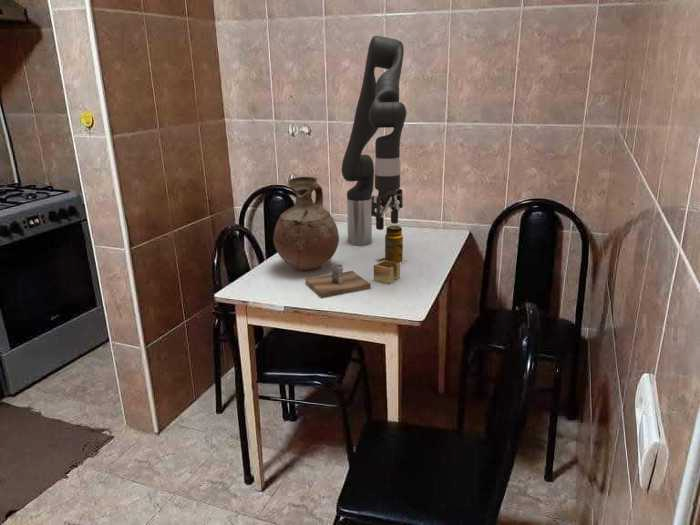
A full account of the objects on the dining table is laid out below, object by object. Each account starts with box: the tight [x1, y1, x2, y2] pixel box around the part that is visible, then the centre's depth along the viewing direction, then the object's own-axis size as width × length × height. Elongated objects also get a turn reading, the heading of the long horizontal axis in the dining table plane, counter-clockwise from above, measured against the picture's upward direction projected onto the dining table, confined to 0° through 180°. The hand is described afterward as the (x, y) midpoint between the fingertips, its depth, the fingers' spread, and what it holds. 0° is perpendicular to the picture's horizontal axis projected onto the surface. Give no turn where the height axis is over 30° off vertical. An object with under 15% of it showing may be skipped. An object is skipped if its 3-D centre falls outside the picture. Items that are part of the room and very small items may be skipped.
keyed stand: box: [305, 263, 372, 299], centre depth 162 cm, size 13×16×6 cm
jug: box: [272, 175, 340, 273], centre depth 175 cm, size 22×22×30 cm
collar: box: [373, 260, 401, 285], centre depth 167 cm, size 6×6×5 cm
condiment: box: [376, 225, 408, 264], centre depth 183 cm, size 7×8×12 cm
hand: (387, 226), depth 162 cm, fingers open, 8 cm apart
